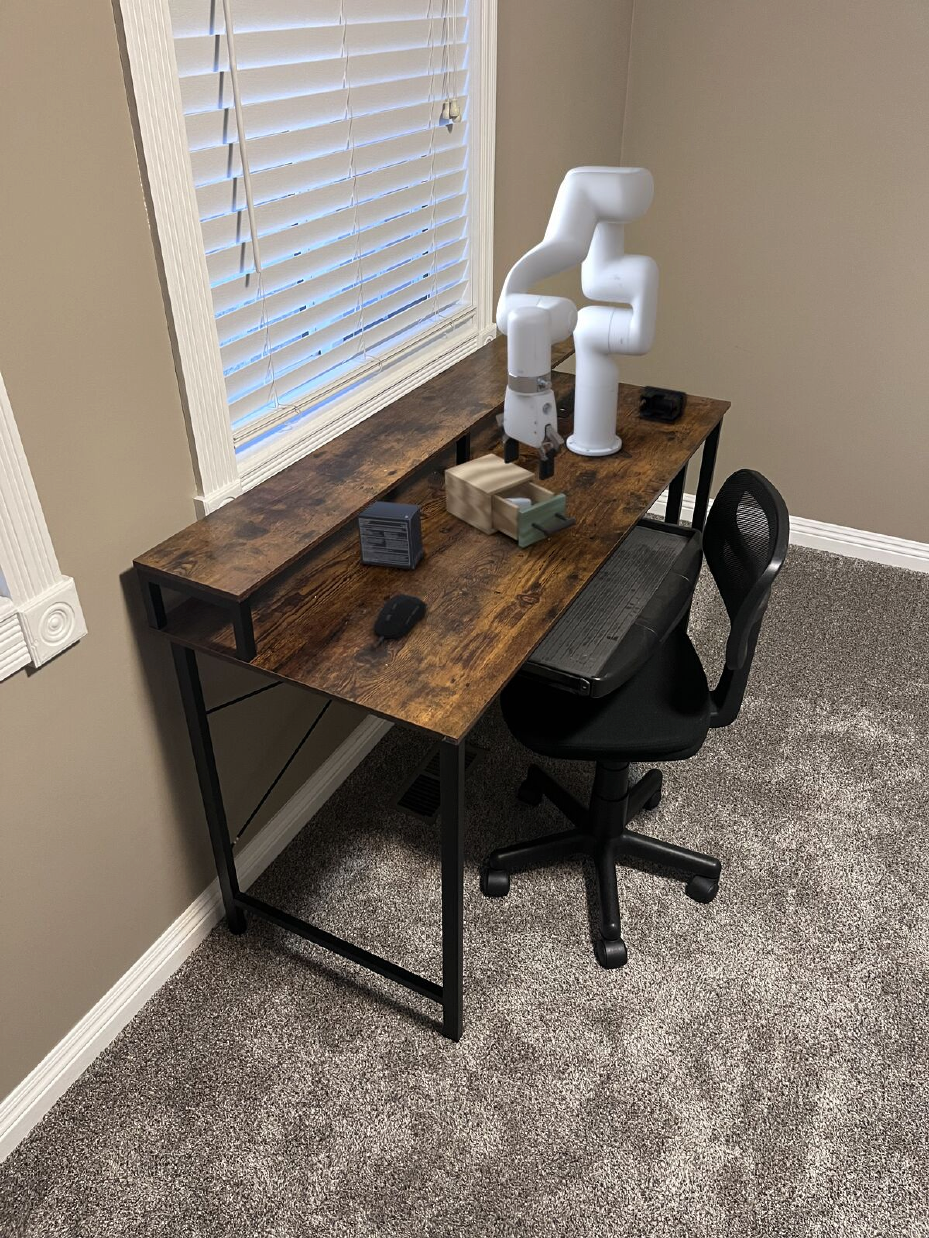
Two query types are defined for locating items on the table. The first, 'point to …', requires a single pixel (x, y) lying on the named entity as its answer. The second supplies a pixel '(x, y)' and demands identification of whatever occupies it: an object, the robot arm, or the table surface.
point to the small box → (390, 535)
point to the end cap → (662, 404)
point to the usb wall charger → (520, 502)
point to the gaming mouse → (398, 616)
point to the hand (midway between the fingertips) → (528, 469)
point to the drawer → (529, 513)
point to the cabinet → (480, 488)
